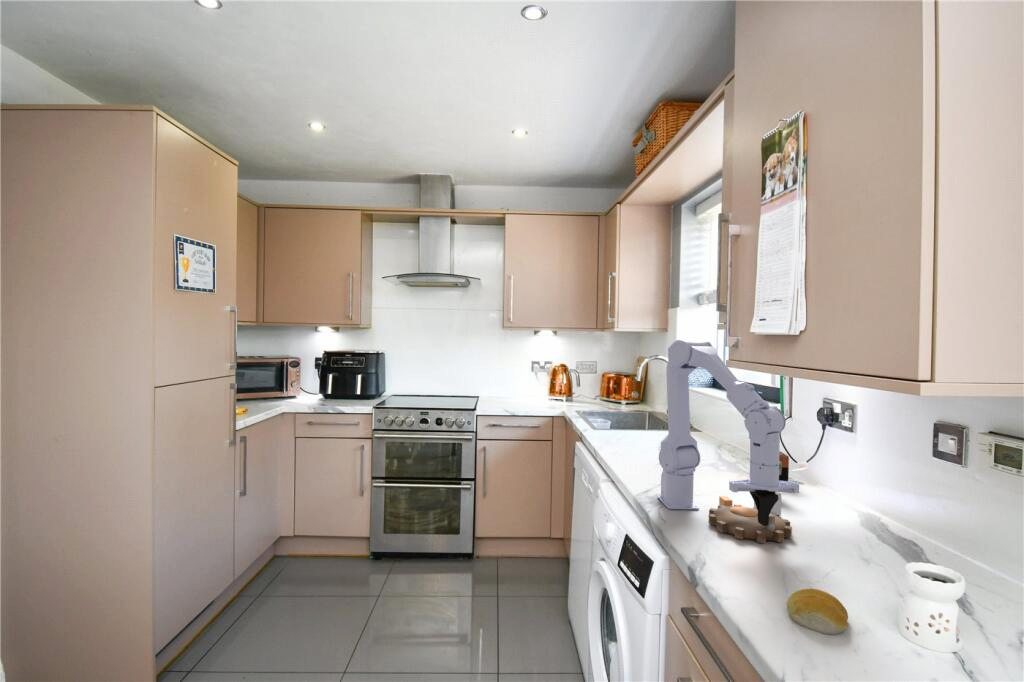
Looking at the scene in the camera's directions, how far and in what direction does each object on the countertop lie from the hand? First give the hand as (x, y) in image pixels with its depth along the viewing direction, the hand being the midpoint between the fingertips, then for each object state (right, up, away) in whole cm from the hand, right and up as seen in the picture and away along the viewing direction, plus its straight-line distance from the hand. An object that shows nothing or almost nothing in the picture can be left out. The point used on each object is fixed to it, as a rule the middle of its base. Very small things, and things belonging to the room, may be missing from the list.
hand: (763, 524), depth 105 cm
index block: (0, -3, +18) cm, 18 cm away
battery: (+26, -4, +42) cm, 50 cm away
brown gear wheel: (0, -4, +7) cm, 7 cm away
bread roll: (-7, -4, -29) cm, 30 cm away
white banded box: (+10, -4, +17) cm, 20 cm away
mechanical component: (+19, -4, +32) cm, 37 cm away
